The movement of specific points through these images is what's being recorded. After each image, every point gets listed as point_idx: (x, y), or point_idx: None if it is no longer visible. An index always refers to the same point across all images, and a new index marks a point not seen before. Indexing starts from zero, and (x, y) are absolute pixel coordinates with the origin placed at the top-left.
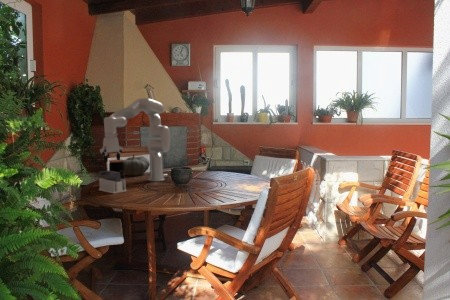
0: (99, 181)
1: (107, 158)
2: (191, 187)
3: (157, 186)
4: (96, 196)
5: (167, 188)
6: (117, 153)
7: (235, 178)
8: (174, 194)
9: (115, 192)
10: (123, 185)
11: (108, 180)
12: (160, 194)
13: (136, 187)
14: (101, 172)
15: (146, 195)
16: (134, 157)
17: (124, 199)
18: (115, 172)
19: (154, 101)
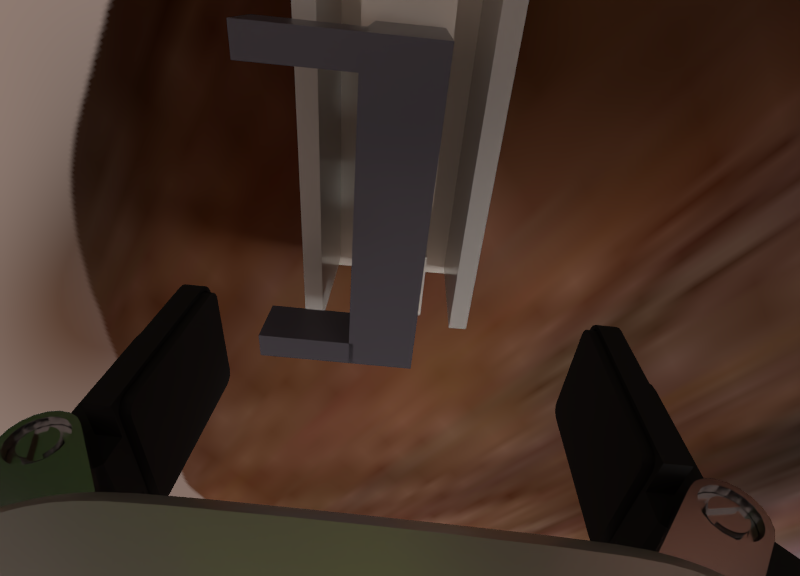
0: None
1: (197, 440)
2: (777, 501)
3: (761, 325)
4: (157, 229)
5: (695, 423)
6: (643, 531)
7: None
8: (534, 528)
9: (340, 260)
10: (448, 274)
11: (302, 225)
12: (496, 487)
13: (653, 208)
14: (263, 62)
15: (428, 453)
16: None
17: (268, 432)
18: (373, 322)
19: None
